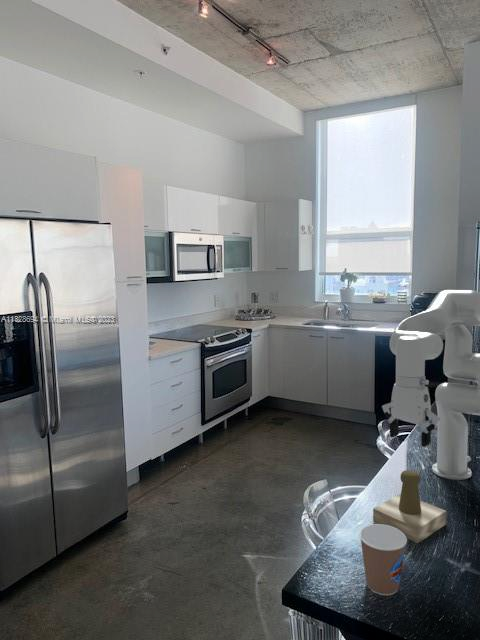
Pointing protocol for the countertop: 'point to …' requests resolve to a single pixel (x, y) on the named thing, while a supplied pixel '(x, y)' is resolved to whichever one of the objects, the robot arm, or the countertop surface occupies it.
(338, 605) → the countertop surface
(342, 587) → the countertop surface
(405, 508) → the olive tall waisted piece
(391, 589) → the coffee cup
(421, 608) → the countertop surface
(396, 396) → the robot arm
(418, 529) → the birch plinth
